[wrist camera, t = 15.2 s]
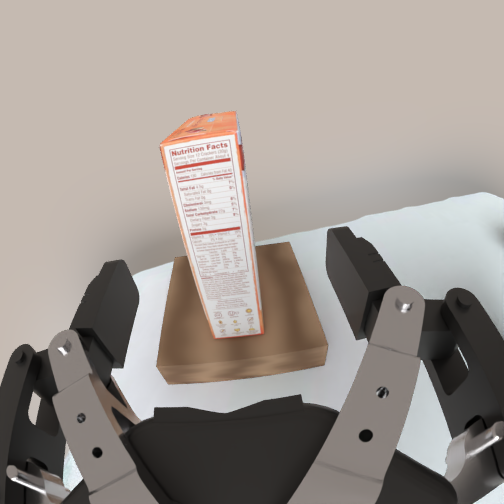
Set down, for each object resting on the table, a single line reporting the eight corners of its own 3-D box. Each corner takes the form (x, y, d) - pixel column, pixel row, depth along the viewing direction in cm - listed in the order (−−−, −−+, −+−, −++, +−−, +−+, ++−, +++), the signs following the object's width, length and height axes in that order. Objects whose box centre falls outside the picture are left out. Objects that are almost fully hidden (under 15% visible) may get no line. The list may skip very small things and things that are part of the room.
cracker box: (214, 264, 40) (187, 116, 28) (256, 259, 40) (239, 109, 28) (209, 342, 29) (154, 140, 17) (265, 337, 29) (243, 125, 17)
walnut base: (289, 262, 45) (289, 241, 43) (324, 365, 29) (328, 345, 27) (181, 277, 45) (175, 257, 43) (168, 384, 28) (156, 366, 26)
